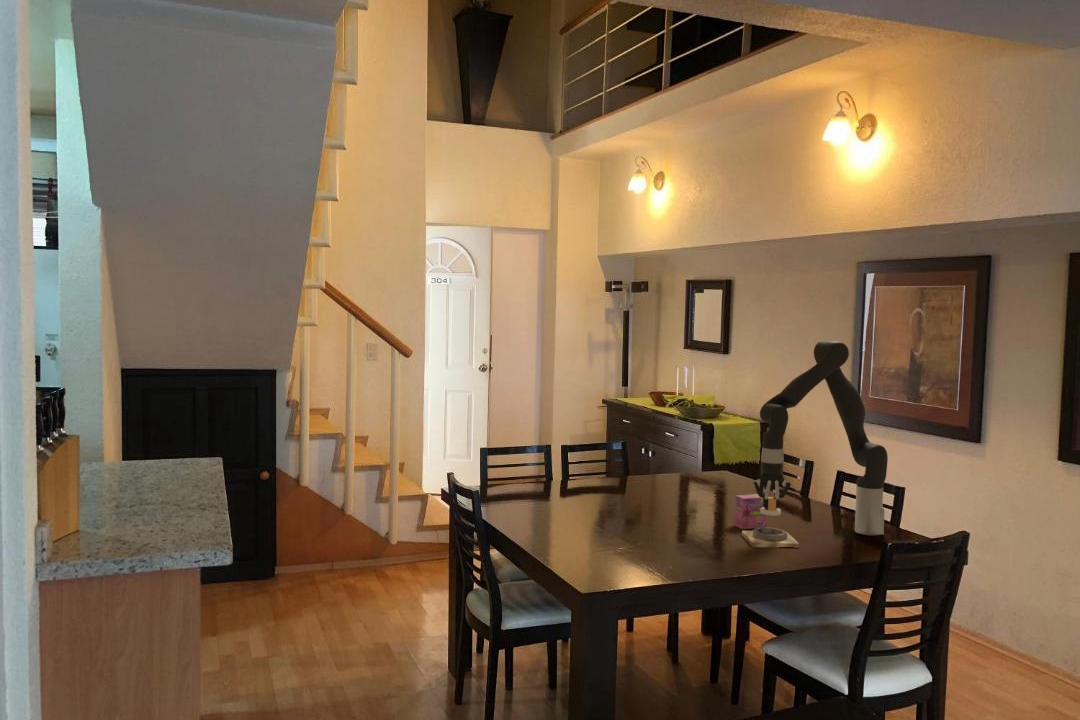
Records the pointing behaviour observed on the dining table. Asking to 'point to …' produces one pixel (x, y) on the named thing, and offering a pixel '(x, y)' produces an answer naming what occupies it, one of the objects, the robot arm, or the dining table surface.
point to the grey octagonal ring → (765, 531)
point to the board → (762, 543)
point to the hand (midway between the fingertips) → (770, 509)
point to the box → (749, 512)
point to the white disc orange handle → (771, 508)
